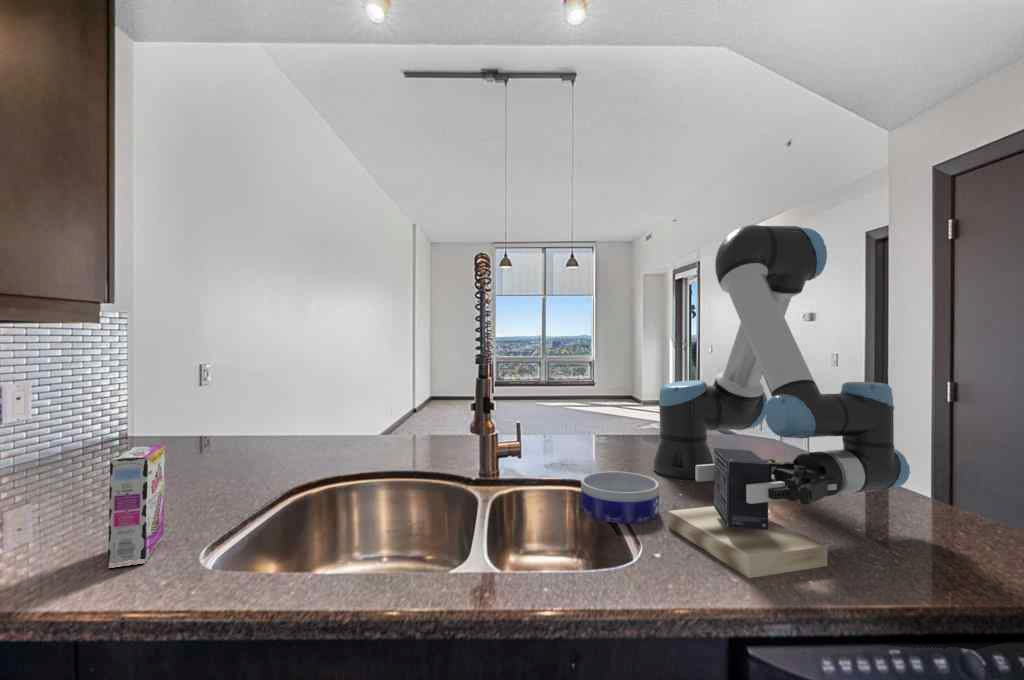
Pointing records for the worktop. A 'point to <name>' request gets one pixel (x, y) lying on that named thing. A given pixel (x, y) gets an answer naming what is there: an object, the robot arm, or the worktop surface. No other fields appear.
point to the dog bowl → (620, 497)
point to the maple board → (748, 543)
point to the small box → (739, 488)
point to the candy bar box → (136, 503)
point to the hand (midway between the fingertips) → (720, 483)
